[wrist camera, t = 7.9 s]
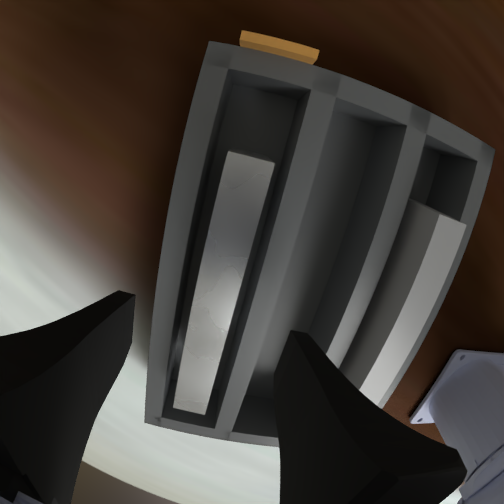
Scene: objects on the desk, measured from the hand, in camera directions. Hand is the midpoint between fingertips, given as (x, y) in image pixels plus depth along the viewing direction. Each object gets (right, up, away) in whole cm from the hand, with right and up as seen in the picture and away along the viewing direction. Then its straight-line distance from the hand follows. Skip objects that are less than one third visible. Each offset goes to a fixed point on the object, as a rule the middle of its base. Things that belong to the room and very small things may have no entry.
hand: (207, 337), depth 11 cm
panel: (0, +2, +6) cm, 7 cm away
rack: (+4, +2, +7) cm, 9 cm away
